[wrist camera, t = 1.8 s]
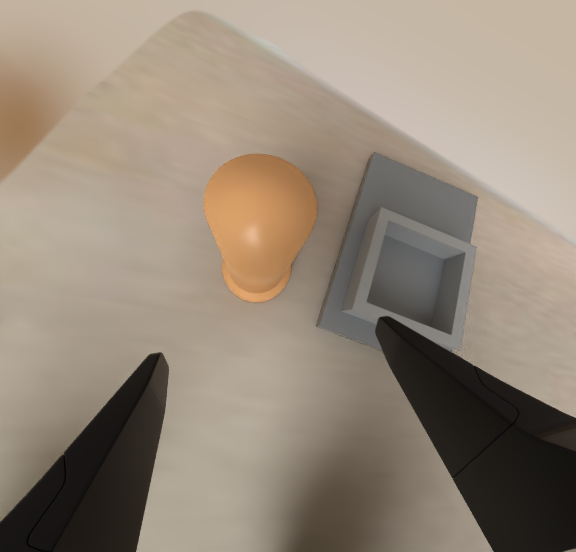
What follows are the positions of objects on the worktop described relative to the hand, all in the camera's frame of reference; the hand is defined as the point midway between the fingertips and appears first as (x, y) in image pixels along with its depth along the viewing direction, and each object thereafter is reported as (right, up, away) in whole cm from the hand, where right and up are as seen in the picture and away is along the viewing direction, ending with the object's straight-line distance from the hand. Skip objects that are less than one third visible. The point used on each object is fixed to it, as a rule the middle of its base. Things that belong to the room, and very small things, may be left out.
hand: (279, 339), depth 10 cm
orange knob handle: (-3, +3, +13) cm, 13 cm away
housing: (+12, +5, +15) cm, 20 cm away
